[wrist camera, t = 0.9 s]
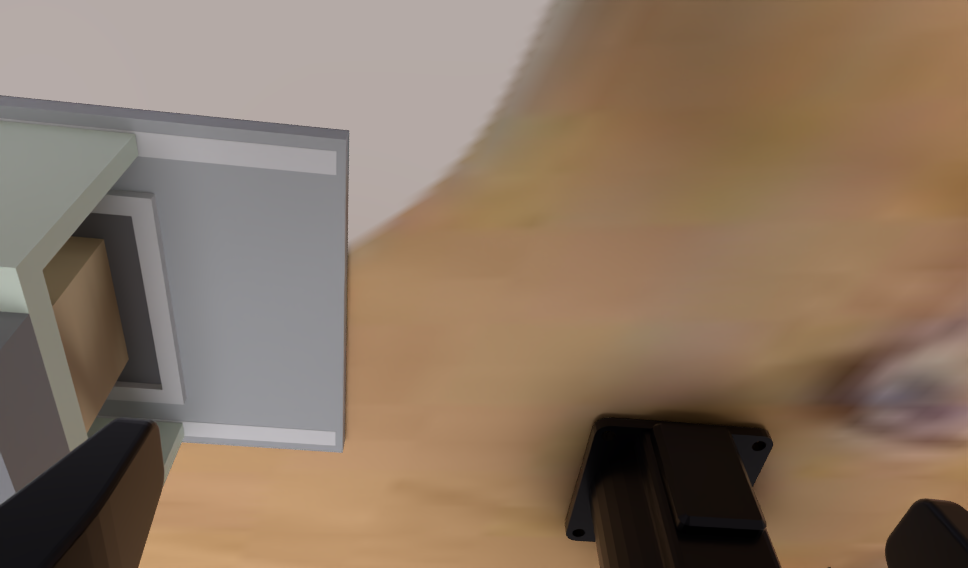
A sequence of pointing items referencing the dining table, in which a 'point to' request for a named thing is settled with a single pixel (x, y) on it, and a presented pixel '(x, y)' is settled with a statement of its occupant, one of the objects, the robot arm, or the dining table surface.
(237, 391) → the puzzle board
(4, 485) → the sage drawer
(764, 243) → the dining table surface
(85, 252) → the oak block
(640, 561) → the robot arm
